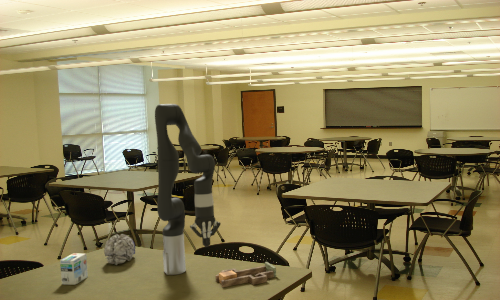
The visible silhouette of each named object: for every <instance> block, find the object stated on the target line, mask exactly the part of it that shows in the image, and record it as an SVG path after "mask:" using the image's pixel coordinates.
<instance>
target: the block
mask: <svg viewBox="0 0 500 300" xmlns="http://www.w3.org/2000/svg"><path fill="white" fill-rule="evenodd" d="M218 274H219V281H218V282H219V283H220V284H221V280H227V279H232V278H237V274H236V273H235V272H233V271H232V270H231V271H226V272H222V273H221V272H218Z"/></svg>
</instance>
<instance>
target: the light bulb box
mask: <svg viewBox="0 0 500 300" xmlns="http://www.w3.org/2000/svg"><path fill="white" fill-rule="evenodd" d="M87 259H88V256H87V253H81V252H80V253H77V252H75V253H74V252H73V253H71V254H70V255H68V256H65V257H64V258H61V259H60V260H59V263H60V264H59V265H60V266H59V267H60V278H61V285H69V286H71V285H74V286H75V285H77V284H79V283H80V282H82V281H84V280H85V279H87V278H89V276H88V275H89V273H88V271H89V270H88V261H87Z"/></svg>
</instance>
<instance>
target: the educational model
mask: <svg viewBox="0 0 500 300" xmlns="http://www.w3.org/2000/svg"><path fill="white" fill-rule="evenodd" d="M103 253H104V256H105V257H106V258H105V259H106V260H107V261H106V262H107V263H108V264H111V265H113V264H114V265H116V266H117V265H118V264H119V265H120V264H124V263H125V262H126V261H129V262H130V261H131V260H132V259H133V256H134V255H135V254H136V245H135V242H134V240H133V238H132V237H130V236H128V235H127V234H124V233H121V234H118V233H115V234H114V235H112V236H111V237H110V238H109V239H107V240H106V242H105V246H104V250H103Z"/></svg>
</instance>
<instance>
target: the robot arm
mask: <svg viewBox="0 0 500 300" xmlns="http://www.w3.org/2000/svg"><path fill="white" fill-rule="evenodd" d="M154 122H155V123H154V124H155V131H156V141H157V143H156V145H157V173H158V175H157V176H158V186H157V187H158V188H157V189H158V191H157V206H156V207H157V209H156V211H157V214H158V217H159V219H160V220H161V221H162V222H167V221H168V222H167V224H166V225H165V226H164V227H163V228H162V240H163V241H162V245H163V250H162V262H163V272H164V273H165V274H166V275H167V276H168V275H169V276H173V275H180V274H183V273H185V272H186V269H187V268H186V267H187V266H186V254H185V253H186V251H185V233H184V230H185V227H186V220H185V219H186V215H185V213H186V212H185V205H184V202H183V201H182V199H181V198H179V197H172V193H173V188H174V184H175V181H176V179H177V177H178V175H179V171H180V156H179V152H178V150H177V148H176V147H175V145H174V144H173V142H172V140H171V139H170V136H169V134H168V126H175V127H177V128H178V131H179V133H178V138H177V139H178V145H179V146H180V147H179V148H180V149H182V152H183V153H184V154H185V157H186V161H187V166H188V169H189V171H190V172H192V173H193V174H201V177H199V178H197V179H195V180H194V181H193V182H194V183H193V186H194V211H195V212H194V213H195V215H194V216H195V219H194V223H192V224H190V225H189V228H190V229H191V230H192V231H193V233H195V234H196V236H198V238H202V246H204V247H205V248H210V245H211V238H212V236H215V234H216V233H217V231H218V229H219V228H220V226H221V222H220V221H217V220H216V217H215V209H214V207H215V206H214V204H215V202H214V196H213V185H212V184H213V178H214V173H215V168H216V161H215V159H214V157H213V156H212V155H211V154H201V153H202V147H201V145H200V143H199V142H198V140H197V138H196V137H195V136H194V134H193V132H192V130H191V128H190V126H189V123H188V121H187V119H186V116H185V114H184V112H183V110H182V108H181V106H180V105H178V104H176V103H164V104H163V103H161V104H160V103H159V104H157V105H156V106H155V110H154ZM197 228H198V229H200V232H199V230H198V229H197Z"/></svg>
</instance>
